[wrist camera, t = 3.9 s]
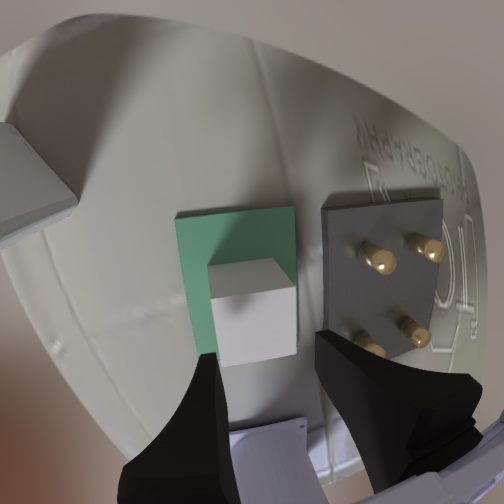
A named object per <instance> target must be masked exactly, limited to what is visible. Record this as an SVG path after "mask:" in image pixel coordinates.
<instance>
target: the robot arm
mask: <svg viewBox="0 0 504 504" xmlns="http://www.w3.org/2000/svg"><path fill="white" fill-rule="evenodd" d="M315 369H316V372H317V374H318V377H319V379H320V381H321V384H322V386H323V388H324V389H325V391H326V393H327V394H328V396H329V398H330V399H331V401H332V402H333V404H334V406H335V407H336V409H337V410H338V412H339V414H340V415H341V417H342V419H343V420H344V422H345V424H346V425H347V427H348V429H349V431H350V433H351V435H352V438H353V440H354V442H355V444H356V447H357V449H358V451H359V454H360V456H361V458H362V461H363V463H364V466H365V469H366V471H367V474H368V476H369V479H370V482H371V485H372V488H373V491H374V494H375V495H373V496H370V497H368V498H365V499H363V500H360V501H358V502H355V503H352V504H474V503H476V502H477V501H478V500H479V499H481V498H482V497H483V496H484V495H485V494H487V493H488V492H489V491H490V490H491V489H492V488H493V487H495V486H496V485H497V484H498V483H499V482H500V481H501V480H502V479H503V478H504V410H503V412H502V413H501V415H500V418H499V419H498V420H496V421H495V422H494V423H493V424H491V425H490V426H489V427H488V428H486V429H485V430H484V431H482V432H481V433H480V432H479V431H478V430H477V429H476V428H475V427H474V425H475V423H476V421H475V419H474V418H473V417H472V414H473V413H474V411H475V408H476V407H477V405H478V403H479V401H480V398H481V396H482V389H483V388H482V385H481V384H479V383H478V382H477V381H476V380H475V379H474V378H473V377H472V376H471V375H469V374H461V373H442V372H433V371H427V370H422V369H418V368H413V367H409V366H406V365H402V364H399V363H396V362H393V361H390V360H388V359H385V358H383V357H381V356H378V355H376V354H374V353H372V352H370V351H368V350H366V349H364V348H362V347H360V346H358V345H356V344H354V343H352V342H351V341H349V340H347V339H345V338H344V337H342V336H340V335H338V334H337V333H335V332H333V331H331V330H329V329H327V330H323V331H319V332H315ZM306 449H307V419H306V418H305V417H300V418H296V419H292V420H288V421H284V422H280V423H275V424H271V425H266V426H261V427H256V428H251V429H245V430H240V431H234V432H229V423H228V409H227V403H226V397H225V392H224V386H223V382H222V378H221V373H220V369H219V364H218V360H217V355H216V352H212V353H205V354H201V355H200V356H199V359H198V363H197V367H196V370H195V372H194V375H193V378H192V380H191V383H190V385H189V387H188V389H187V391H186V393H185V395H184V397H183V399H182V401H181V403H180V405H179V407H178V408H177V410H176V412H175V413H174V415H173V416H172V418H171V419H170V421H169V422H168V423H167V424H166V426H165V427H164V428H163V430H162V431H161V432H160V433H159V435H158V436H157V437H156V438H155V439H154V440H153V441H152V442H151V443H150V444H149V445H148V446H147V447H146V448H145V449H144V450H143V451H142V452H141V453H140V454H139V455H137V456H136V457H135V458H134V459H132V460H131V461H130V462H129V463H127V464H126V465H125V466H124V467H123V470H122V473H121V476H120V480H119V485H118V494H117V503H118V504H329V503H328V500H327V498H326V496H325V493H324V491H323V489H322V486H321V484H320V481H319V479H318V477H317V474H316V472H315V470H314V467H313V465H312V462H311V460H310V458H309V455H308V453H307V450H306Z"/></svg>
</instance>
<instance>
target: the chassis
mask: <svg viewBox="0 0 504 504" xmlns="http://www.w3.org/2000/svg"><path fill="white" fill-rule="evenodd" d="M321 218H322V242H323V284H324V323H323V330H327V329H329V330H331V331H333V332H335V333H337V334H338V335H340V336H342V337H344V338H345V339H347V340H349V341H351V342H352V343H354V344H356V345H358V346H360V347H362V348H364V349H366V350H368V351H370V352H372V353H374V354H376V355H378V356H381V357H383V358H385V359H390V358H392V357H395V356H398V355H400V354H403V353H406V352H408V351H411V350H413V349H416V348H418V347H419V348H424V347H425V346H426V345H427V344H428V343H429V342H430V340H431V333H429V332H428V329H429V324H430V319H431V314H432V309H433V303H434V297H435V290H436V284H437V276H438V268H439V262H440V261H441V260H442V259H443V257H444V255H445V245H444V244H443V243H442V242H441V237H442V221H443V199H440V198H436V197H430V198H418V199H407V200H396V201H386V202H376V203H366V204H356V205H347V206H338V207H329V208H321Z"/></svg>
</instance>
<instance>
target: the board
mask: <svg viewBox="0 0 504 504" xmlns="http://www.w3.org/2000/svg"><path fill="white" fill-rule="evenodd" d="M174 221H175V228H176V235H177V242H178V249H179V255H180V262H181V268H182V274H183V280H184V286H185V292H186V297H187V303H188V308H189V314H190V319H191V324H192V329H193V334H194V339H195V344H196V348H197V353H198V358H199V356H200V355H201V354H205V353H212V352H216V355H217V360H218V361H221V366H222V367H226V366H233V365H239V364H245V363H251V362H257V361H263V360H268V359H274V358H279V357H284V356H289V355H294V354H296V347H297V269H296V238H295V214H294V206H292V205H291V206H280V207H269V208H260V209H250V210H241V211H232V212H223V213H214V214H206V215H198V216H190V217H182V218H175V219H174Z"/></svg>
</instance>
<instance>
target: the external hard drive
mask: <svg viewBox="0 0 504 504" xmlns="http://www.w3.org/2000/svg"><path fill="white" fill-rule="evenodd" d="M77 205H78V199H77V197H76V195H75V194H74V193H73V192H72V191H71V190H70V189H69V187H68V186H67V185H66V184H65V183H64V182H63V181H62V180H61V179H60V178H59V177H58V176H57V175H56V173H55V172H54V171H53V170H52V169H51V168H50V167H49V166H48V165H47V164H46V163H45V161H44V160H43V159H42V158H41V157H40V156H39V155H38V153H37V152H36V151H35V150H34V149H33V148H32V147H31V145H30V144H29V143H28V142H27V141H26V140H25V138H24V137H23V136H22V135H21V134H20V133H19V131H18V130H17V129H16V128H15V127H14V126H13V125H12V124H9V123H3V122H0V252H1V251H2V250H4V249H6V248H8V247H10V246H12V245H13V244H15V243H17V242H19V241H21V240H22V239H24V238H26V237H28V236H30V235H32V234H34V233H36V232H38V231H40V230H42V229H44V228H46V227H48V226H50V225H52V224H54V223H56V222H58V221H60V220H62V219H64V218H66V217H68V216H69V215H70V214H71V213H72V211H73V210H74V209H75V208H76V206H77Z"/></svg>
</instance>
